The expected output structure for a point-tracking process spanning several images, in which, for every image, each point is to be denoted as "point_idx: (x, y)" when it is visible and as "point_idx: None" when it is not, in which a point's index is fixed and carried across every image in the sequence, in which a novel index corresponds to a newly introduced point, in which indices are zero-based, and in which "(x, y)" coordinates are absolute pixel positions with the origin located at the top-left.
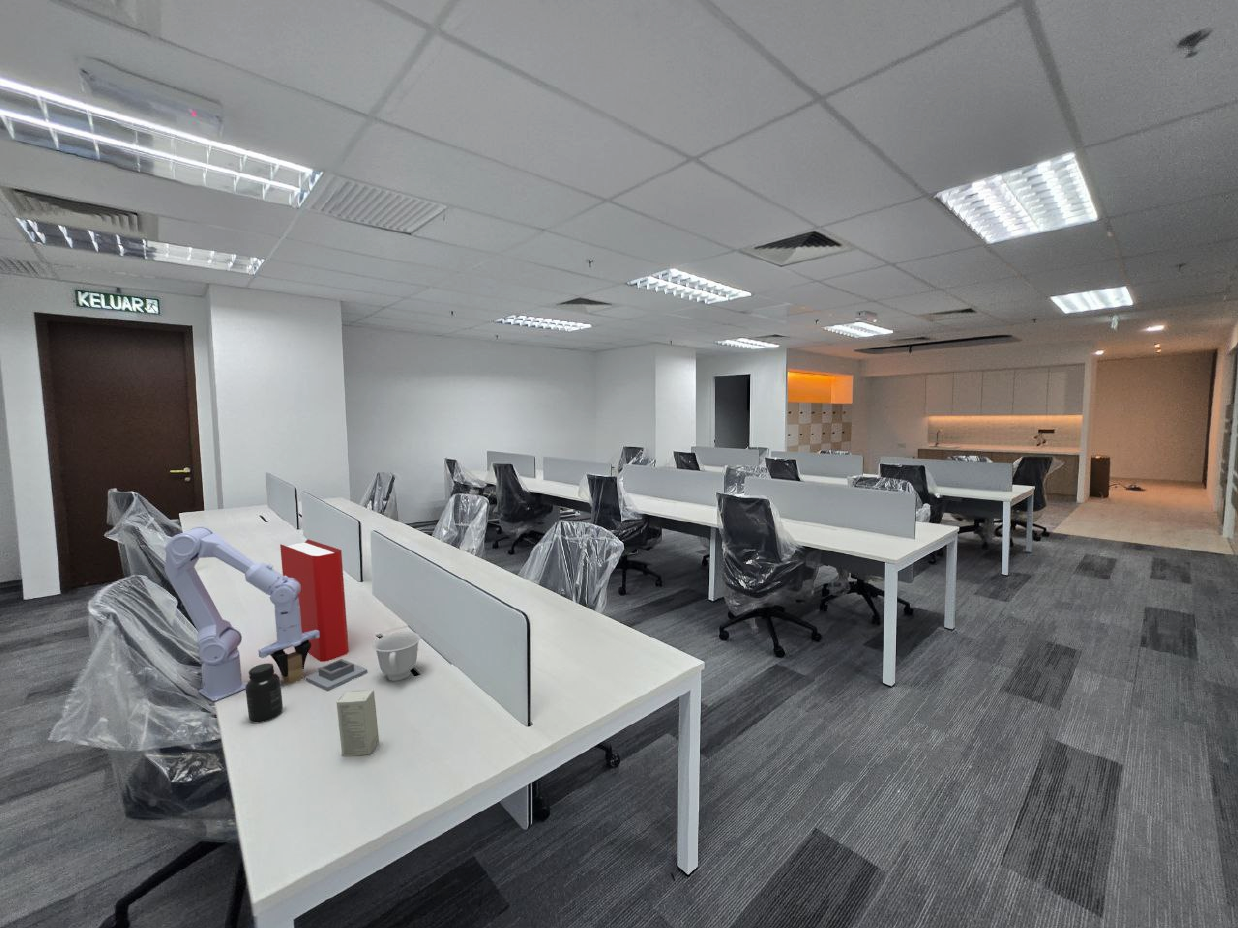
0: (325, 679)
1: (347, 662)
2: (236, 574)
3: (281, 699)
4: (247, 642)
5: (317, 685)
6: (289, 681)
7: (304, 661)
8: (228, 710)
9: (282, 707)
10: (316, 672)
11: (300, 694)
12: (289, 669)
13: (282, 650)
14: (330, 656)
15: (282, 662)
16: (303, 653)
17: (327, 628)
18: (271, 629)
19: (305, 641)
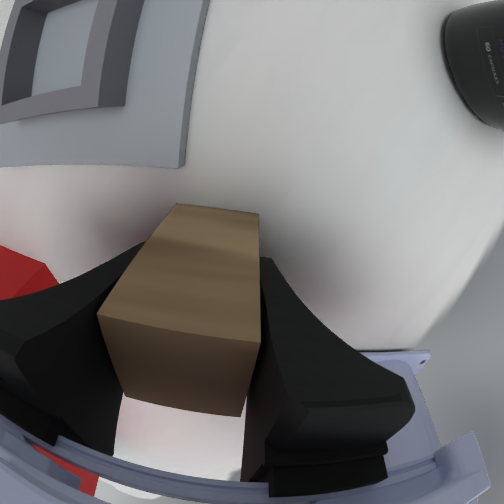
0: (149, 12)
1: (6, 44)
2: (124, 491)
3: (489, 1)
4: (172, 465)
5: (203, 21)
6: (257, 222)
7: (113, 261)
8: (478, 257)
9: (459, 9)
10: (110, 163)
11: (319, 33)
12: (250, 264)
13: (290, 480)
14: (23, 268)
15: (326, 335)
16: (75, 303)
17: None
18: (126, 459)
19: (2, 406)
